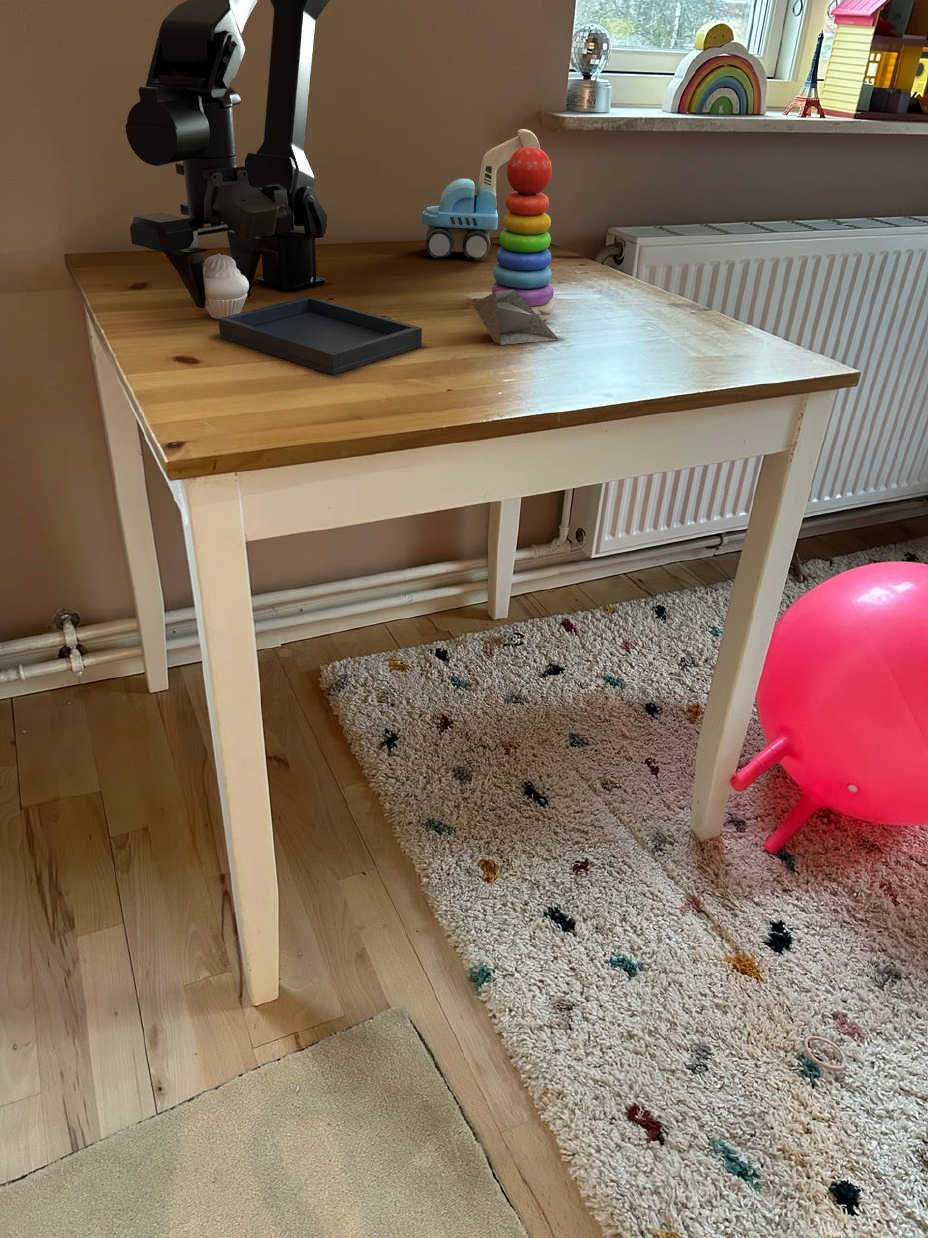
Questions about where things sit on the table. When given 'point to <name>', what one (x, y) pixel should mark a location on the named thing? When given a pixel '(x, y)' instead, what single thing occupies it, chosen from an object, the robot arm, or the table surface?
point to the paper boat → (512, 319)
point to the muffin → (223, 286)
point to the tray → (320, 334)
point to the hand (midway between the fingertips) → (223, 302)
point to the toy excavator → (471, 206)
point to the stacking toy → (527, 232)
